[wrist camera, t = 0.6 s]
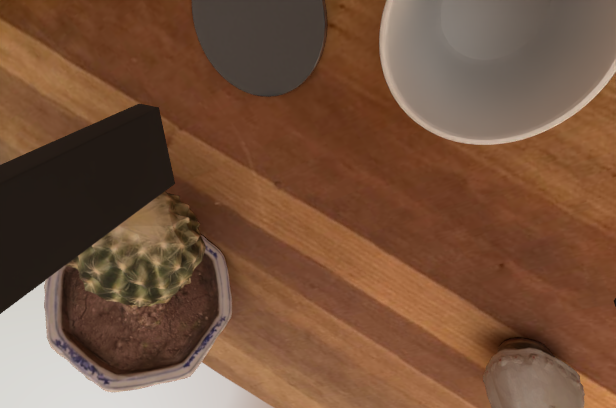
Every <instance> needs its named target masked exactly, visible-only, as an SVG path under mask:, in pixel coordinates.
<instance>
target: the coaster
mask: <svg viewBox="0 0 616 408" xmlns="http://www.w3.org/2000/svg"><path fill="white" fill-rule="evenodd" d="M192 14H193V21H194V26H195V30H196V33H197V36H198V39H199V42H200V44H201V46H202V49H203V51H204V52H205V54H206V56H207V58H208V59H209V61H210V62H211V64H212V65H213V67H214V68H215V69H216V70H217V71H218V73H219V74H220V75H221V76H222V77H223V78H224V79H226V80H227V81H228V82H229V83H231V84H232V85H234V86H235V87H237V88H238V89H240V90H242V91H244V92H247V93H250V94H253V95H257V96H266V97H271V96H278V95H282V94H285V93H288V92H290V91H292V90H294V89H295V88H297V87H298V86H300V85H301V84H302V83H303V82H304V81H306V80H307V79H308V78H309V76H310V75H311V74H312V73H313V71H314V70H315V68H316V66H317V65H318V63H319V61H320V58H321V56H322V53H323V50H324V47H325V42H326V36H327V11H326V5H325V0H192Z"/></svg>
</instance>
